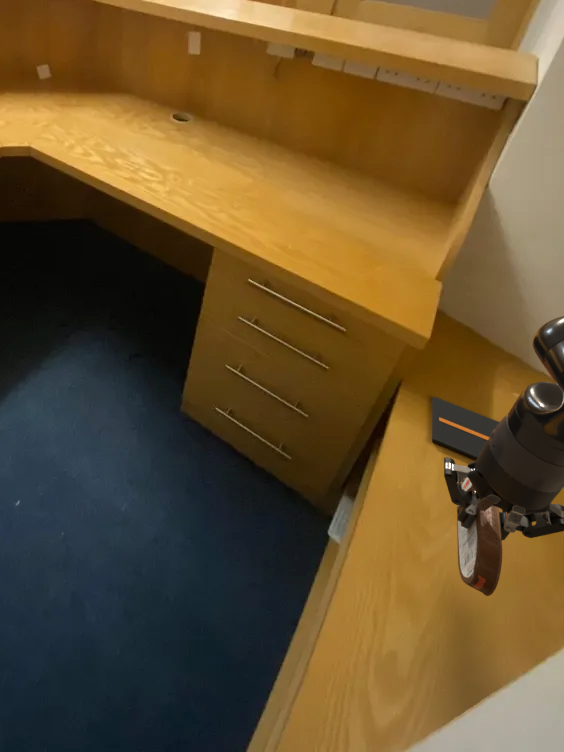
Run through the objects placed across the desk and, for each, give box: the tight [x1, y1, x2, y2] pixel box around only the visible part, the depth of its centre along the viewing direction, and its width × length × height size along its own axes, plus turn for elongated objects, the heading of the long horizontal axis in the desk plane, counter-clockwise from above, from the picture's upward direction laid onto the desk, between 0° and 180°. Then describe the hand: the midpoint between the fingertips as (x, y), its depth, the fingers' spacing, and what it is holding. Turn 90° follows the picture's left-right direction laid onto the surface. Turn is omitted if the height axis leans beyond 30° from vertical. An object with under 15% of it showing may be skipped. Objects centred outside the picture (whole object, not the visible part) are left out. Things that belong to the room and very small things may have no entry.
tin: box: [456, 478, 503, 597], centre depth 69 cm, size 15×3×8 cm, turn 151°
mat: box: [431, 396, 500, 461], centre depth 97 cm, size 14×10×1 cm
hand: (477, 527), depth 69 cm, fingers closed on tin, 2 cm apart
